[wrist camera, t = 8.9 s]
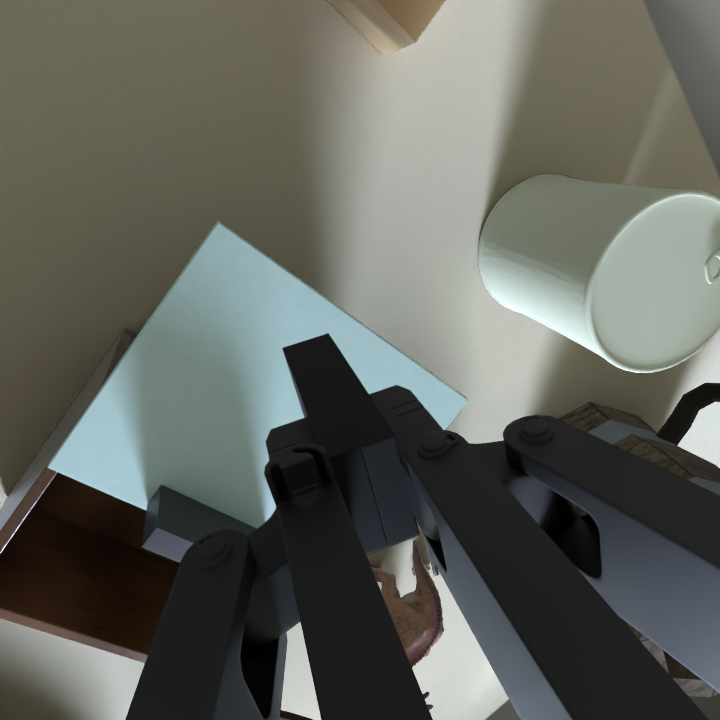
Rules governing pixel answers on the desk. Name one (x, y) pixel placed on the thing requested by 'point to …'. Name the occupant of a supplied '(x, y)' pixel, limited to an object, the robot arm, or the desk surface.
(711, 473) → the mug
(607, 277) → the can
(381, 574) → the dinosaur figurine
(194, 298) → the light blue slab
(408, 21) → the block
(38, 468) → the case
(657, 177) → the desk surface
